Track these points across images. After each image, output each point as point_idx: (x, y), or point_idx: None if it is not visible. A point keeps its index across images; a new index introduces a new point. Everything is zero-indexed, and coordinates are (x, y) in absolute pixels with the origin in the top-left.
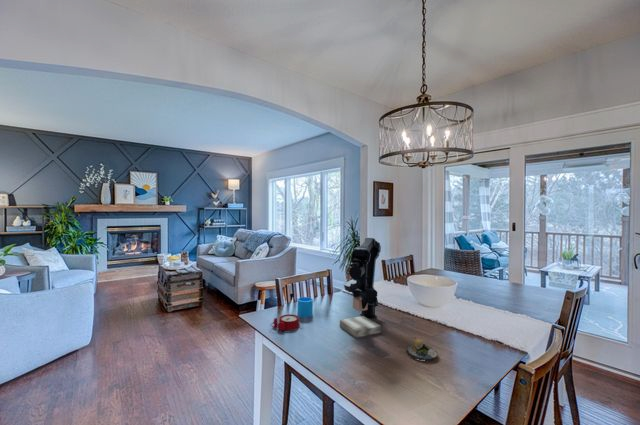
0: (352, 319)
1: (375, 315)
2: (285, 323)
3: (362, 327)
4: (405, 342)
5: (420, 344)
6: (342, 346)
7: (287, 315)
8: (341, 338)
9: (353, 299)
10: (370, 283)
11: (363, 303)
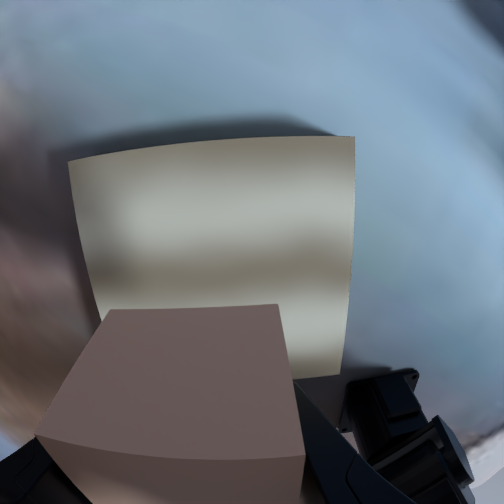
0: (316, 261)
1: (351, 430)
2: None
3: (117, 252)
4: (27, 374)
5: None
6: (34, 31)
7: None
8: (121, 50)
9: (275, 421)
10: None
11: None
